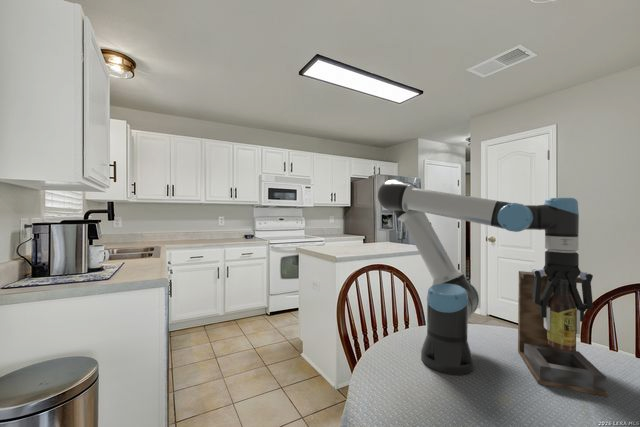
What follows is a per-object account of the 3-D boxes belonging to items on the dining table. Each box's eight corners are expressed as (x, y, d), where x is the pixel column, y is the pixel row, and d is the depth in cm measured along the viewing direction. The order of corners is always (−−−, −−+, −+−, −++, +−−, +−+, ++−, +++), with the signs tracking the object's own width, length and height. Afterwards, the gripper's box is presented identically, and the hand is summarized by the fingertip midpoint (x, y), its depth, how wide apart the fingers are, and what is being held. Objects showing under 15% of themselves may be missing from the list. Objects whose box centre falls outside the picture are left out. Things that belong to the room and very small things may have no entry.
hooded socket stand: (537, 383, 80) (538, 283, 80) (517, 351, 98) (518, 271, 98) (608, 396, 74) (609, 289, 74) (573, 360, 93) (573, 274, 93)
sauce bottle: (569, 354, 79) (568, 282, 80) (542, 345, 85) (542, 277, 85) (580, 349, 82) (579, 279, 83) (554, 340, 88) (553, 275, 88)
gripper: (525, 250, 84) (525, 330, 84) (611, 254, 77) (611, 341, 77) (518, 248, 91) (518, 321, 91) (596, 251, 84) (596, 330, 84)
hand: (561, 330), depth 84 cm, fingers closed on sauce bottle, 6 cm apart
